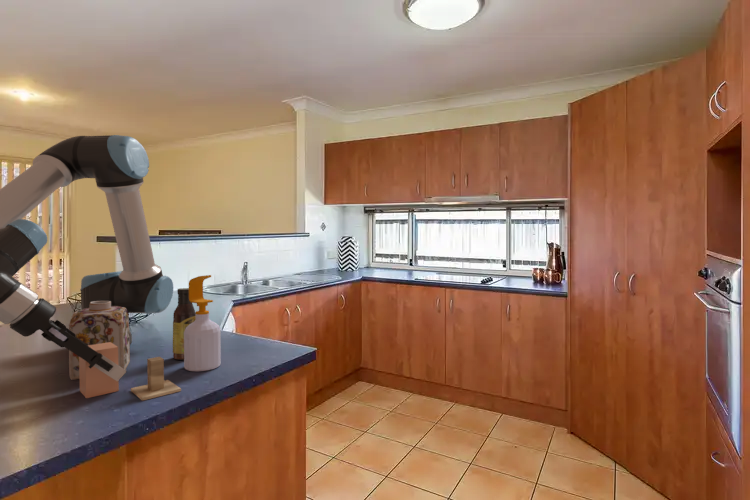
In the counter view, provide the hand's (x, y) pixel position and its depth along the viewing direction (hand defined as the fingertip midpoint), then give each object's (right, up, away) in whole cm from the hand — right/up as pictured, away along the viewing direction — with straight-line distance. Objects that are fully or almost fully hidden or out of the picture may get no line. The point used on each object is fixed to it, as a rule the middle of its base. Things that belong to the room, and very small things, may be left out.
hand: (117, 372), depth 98 cm
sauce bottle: (+5, -3, +24) cm, 25 cm away
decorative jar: (-11, -3, +12) cm, 16 cm away
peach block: (-3, -3, -2) cm, 5 cm away
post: (+10, -4, -2) cm, 11 cm away
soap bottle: (+14, -3, +15) cm, 21 cm away
